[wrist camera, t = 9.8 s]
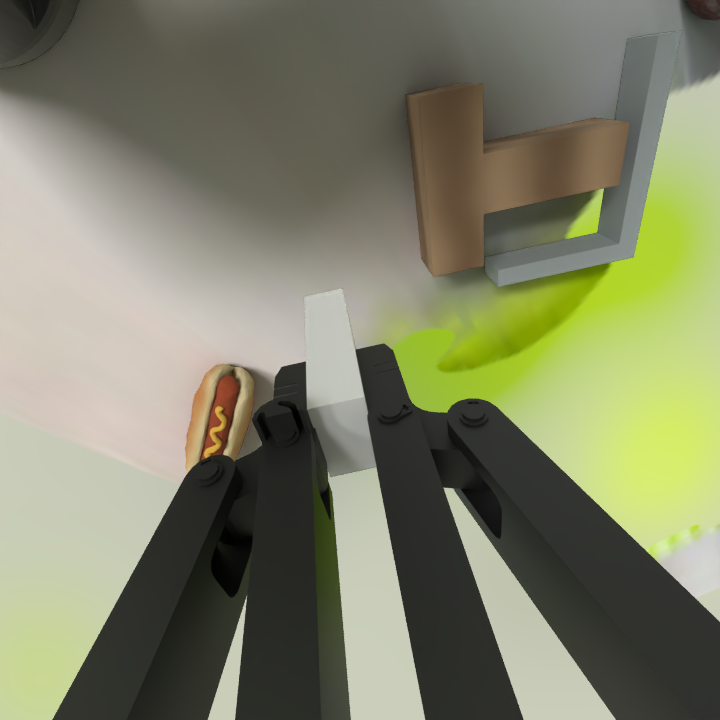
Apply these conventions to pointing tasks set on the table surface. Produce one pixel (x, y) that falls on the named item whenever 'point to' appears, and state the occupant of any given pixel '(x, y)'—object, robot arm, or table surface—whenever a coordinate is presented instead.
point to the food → (220, 414)
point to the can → (706, 8)
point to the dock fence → (627, 200)
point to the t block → (494, 170)
